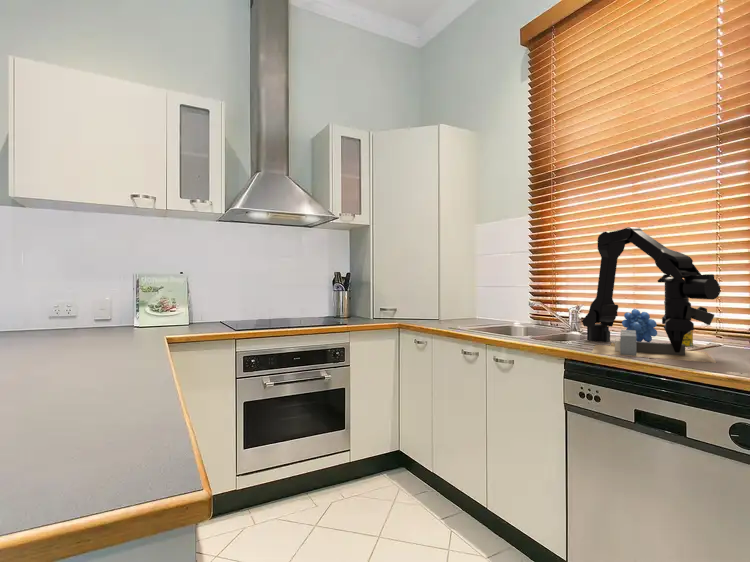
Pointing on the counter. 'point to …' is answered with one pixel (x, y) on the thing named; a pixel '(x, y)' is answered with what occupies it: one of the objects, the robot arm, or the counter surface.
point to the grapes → (640, 325)
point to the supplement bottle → (688, 339)
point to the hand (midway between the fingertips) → (676, 351)
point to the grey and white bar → (652, 348)
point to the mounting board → (688, 354)
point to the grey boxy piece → (628, 342)
